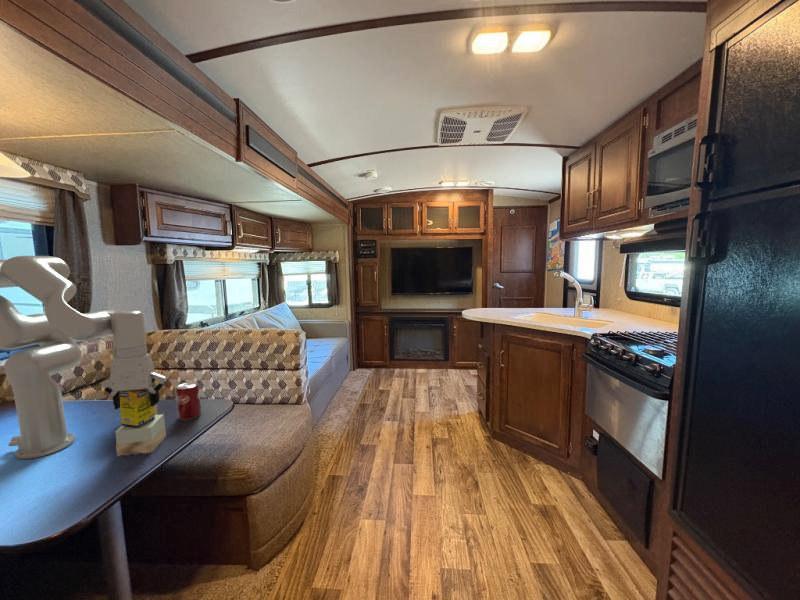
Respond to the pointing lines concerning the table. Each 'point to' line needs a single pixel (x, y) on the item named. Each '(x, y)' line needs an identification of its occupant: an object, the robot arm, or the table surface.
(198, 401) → the soda can
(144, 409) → the supplement box
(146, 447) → the tower base block
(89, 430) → the table surface
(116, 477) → the table surface
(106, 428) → the table surface
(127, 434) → the tower top block
